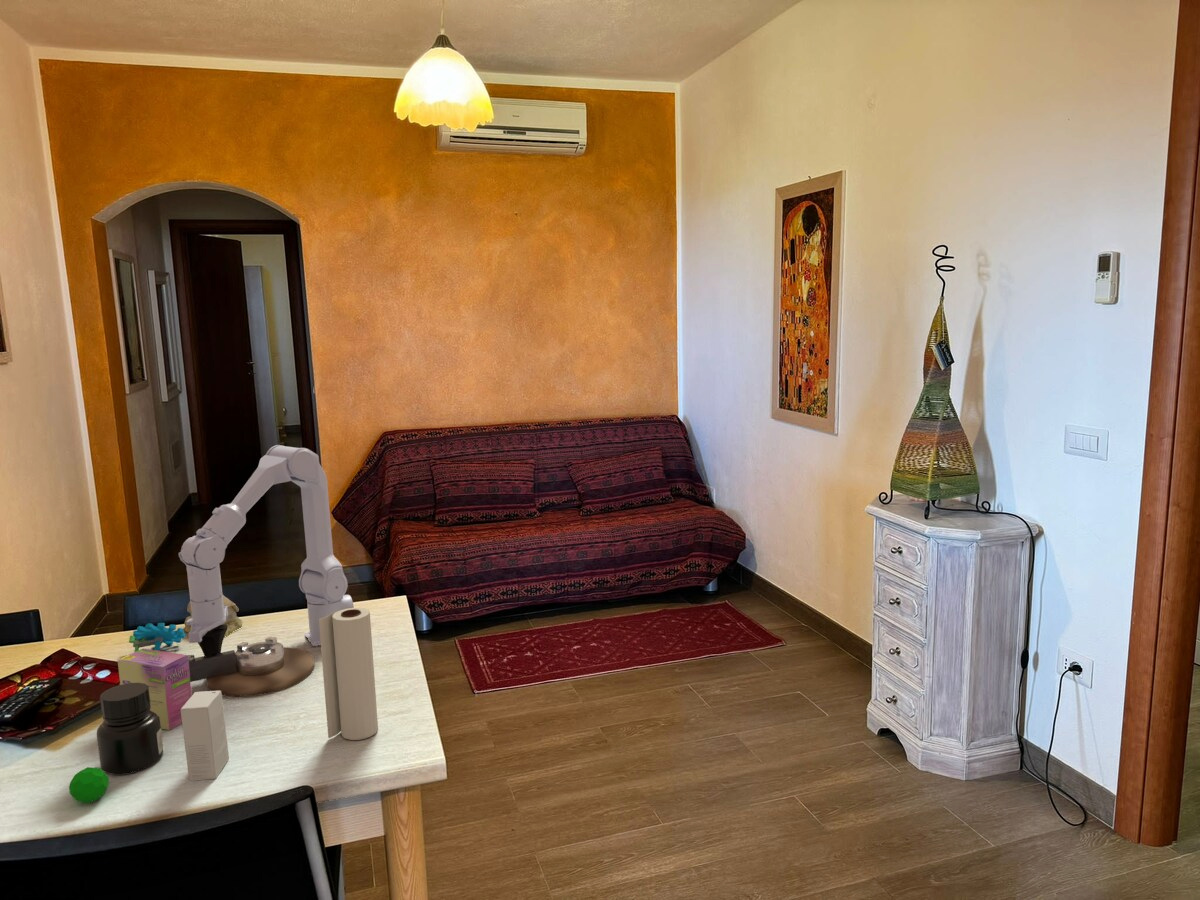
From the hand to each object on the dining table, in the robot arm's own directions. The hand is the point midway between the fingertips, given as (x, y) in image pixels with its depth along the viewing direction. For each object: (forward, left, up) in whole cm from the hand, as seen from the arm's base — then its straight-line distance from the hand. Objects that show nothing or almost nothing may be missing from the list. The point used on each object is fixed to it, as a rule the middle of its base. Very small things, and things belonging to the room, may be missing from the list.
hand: (213, 663), depth 166 cm
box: (+11, +12, -4) cm, 17 cm away
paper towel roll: (-17, +37, -4) cm, 41 cm away
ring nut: (-4, +2, -2) cm, 5 cm away
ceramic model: (-4, -31, -4) cm, 31 cm away
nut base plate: (-8, +2, -3) cm, 9 cm away
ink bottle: (+16, +26, -4) cm, 31 cm away
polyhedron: (+22, +35, -4) cm, 42 cm away
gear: (+8, -23, -4) cm, 25 cm away
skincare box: (+6, +36, -4) cm, 37 cm away
